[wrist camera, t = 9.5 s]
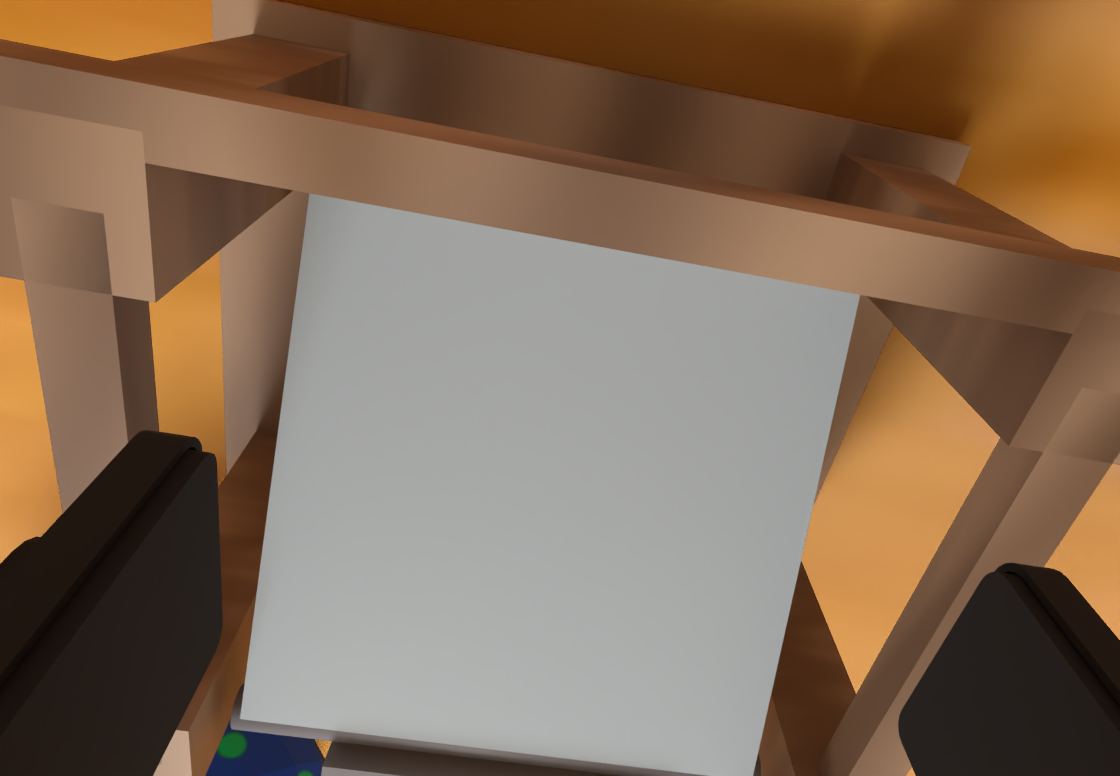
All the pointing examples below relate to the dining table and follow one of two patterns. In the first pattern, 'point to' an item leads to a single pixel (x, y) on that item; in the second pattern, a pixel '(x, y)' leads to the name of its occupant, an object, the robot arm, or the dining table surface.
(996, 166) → the dining table surface
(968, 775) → the robot arm
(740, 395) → the trapdoor
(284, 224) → the frame
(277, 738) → the blue green-spotted dome
